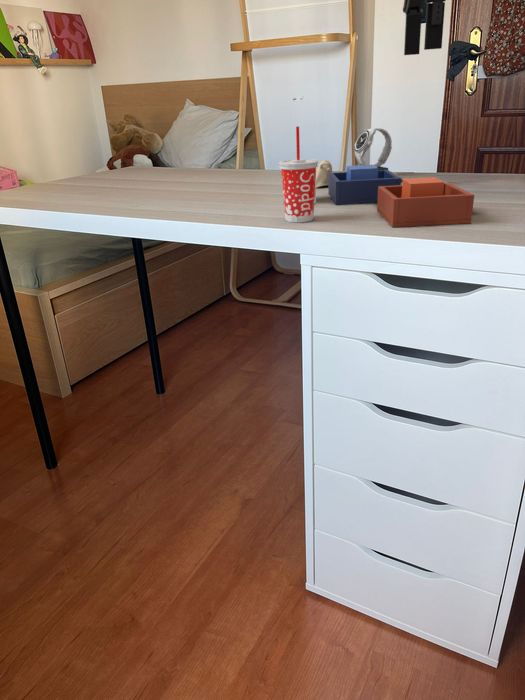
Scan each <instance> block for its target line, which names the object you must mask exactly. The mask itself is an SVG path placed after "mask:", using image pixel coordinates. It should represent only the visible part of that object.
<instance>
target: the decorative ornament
mask: <svg viewBox="0 0 525 700" xmlns="http://www.w3.org/2000/svg"><path fill="white" fill-rule="evenodd" d="M317 166H318V167H316V189H317V188H320V187H325V186H327V187H328V177H329V173H333V166H332V164H331V162H330V161H329V160H326V159H323V160H320V162H319V163H318V164H317Z"/></svg>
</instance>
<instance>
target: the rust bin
mask: <svg viewBox="0 0 525 700" xmlns="http://www.w3.org/2000/svg"><path fill="white" fill-rule="evenodd" d="M401 197H402V184H401V185H396V186H379V187H378V201H377V203H376V204H377V205H376V212H377V213H378V214H379V215H380V217H382V218H383V219H384V220H385V221H386V222H387V224H388V225H389V226H390V227H391V228H406V227H425V226H443V225H444V226H445V225H465V224H471V223H472V218H473V210H474V202H475V194H473V193H471V192H469V191H467V190H465V189H463V188H460V187H459V186H456V185H455V184H452V183H450V182H444V189H443V196H425V197H407V198H401Z"/></svg>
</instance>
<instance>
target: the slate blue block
mask: <svg viewBox="0 0 525 700" xmlns="http://www.w3.org/2000/svg"><path fill="white" fill-rule="evenodd" d="M346 172H347V178H346V180H363V179H378V168H377V167H376V166H374V164H366V165H360V164H357V165H346Z"/></svg>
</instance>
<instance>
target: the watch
mask: <svg viewBox="0 0 525 700" xmlns="http://www.w3.org/2000/svg"><path fill="white" fill-rule="evenodd" d="M377 131H378V132H379V133H381V134H382V136H383V137H384V140H385V141H384V146H383V148H382V151H381V153H380V155H379V157H378V159H377V162H376V163H374V164H373V165H374V166H376V167H377V168H378V170H389V167H386V166H385V167H384V166H383V165H386V164H385V163H387V160H388V159H389V157H390V154H391V152H392V148H393V146H392V144H393V143H392V137H391V134H390V133H389V131H387V130H386V129H384V128H381V127H380V128H378V127H371V128H368V129H365V130H363V131H362V132H360V133H359V135H358V136H357V138H356V140H355V142H354V144H353V151H354V156H355V159H356V161H357V163H358V165H367V164H366V162H365V160H364V159H363V158H364V157H365V154H366V152H367V151H368V150H369V149H370V147H371V146H372V145H373V142H374V135H375V134H376V132H377Z"/></svg>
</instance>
